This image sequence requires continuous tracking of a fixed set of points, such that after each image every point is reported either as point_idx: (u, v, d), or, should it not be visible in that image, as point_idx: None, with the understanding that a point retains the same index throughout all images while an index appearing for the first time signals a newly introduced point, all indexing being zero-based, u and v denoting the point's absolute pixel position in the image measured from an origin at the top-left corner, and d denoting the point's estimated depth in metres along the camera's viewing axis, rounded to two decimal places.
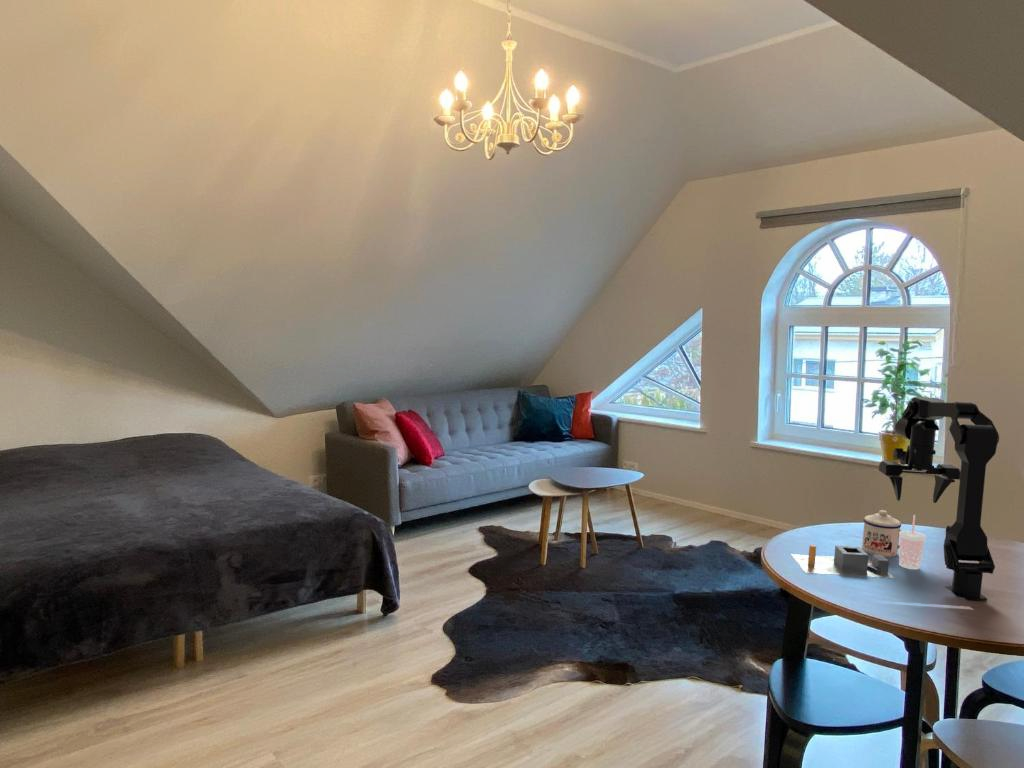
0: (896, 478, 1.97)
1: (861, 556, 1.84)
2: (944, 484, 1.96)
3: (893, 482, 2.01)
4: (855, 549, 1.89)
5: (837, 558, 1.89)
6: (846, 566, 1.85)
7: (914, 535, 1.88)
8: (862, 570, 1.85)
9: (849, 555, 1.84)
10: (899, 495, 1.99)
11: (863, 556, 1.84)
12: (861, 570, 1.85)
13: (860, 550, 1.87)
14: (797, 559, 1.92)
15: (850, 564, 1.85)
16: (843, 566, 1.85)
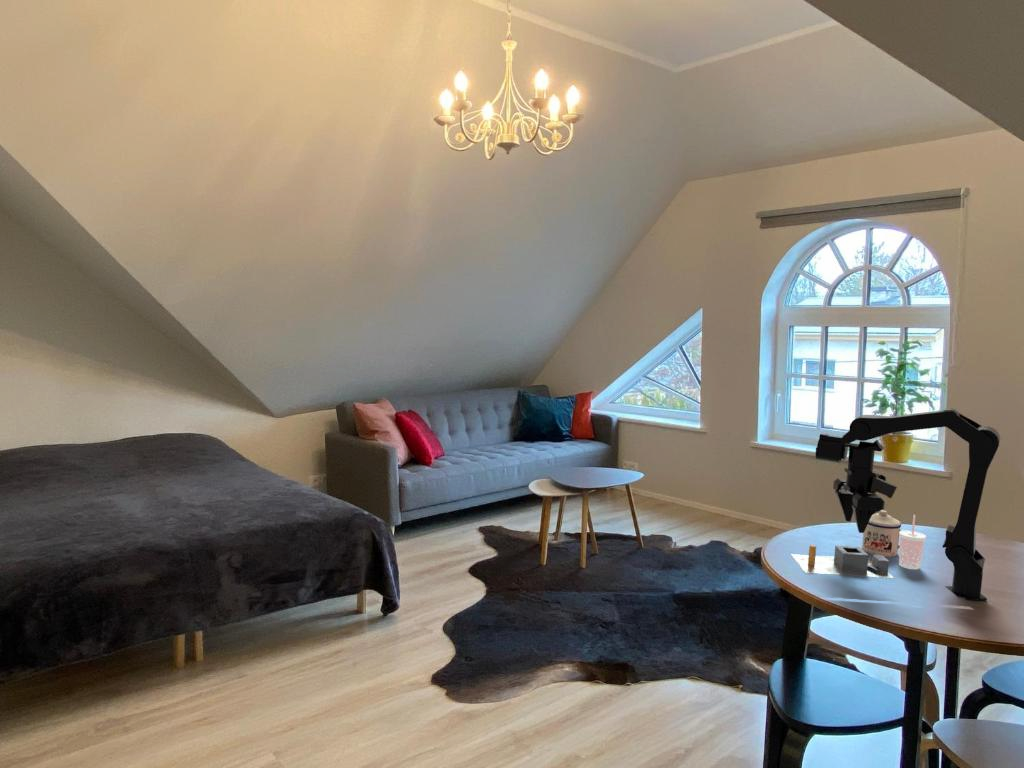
0: (836, 493, 1.93)
1: (861, 556, 1.84)
2: (853, 509, 1.81)
3: None
4: (855, 549, 1.89)
5: (837, 558, 1.89)
6: (846, 566, 1.85)
7: (914, 535, 1.88)
8: (862, 570, 1.85)
9: (849, 555, 1.84)
10: (844, 514, 1.91)
11: (863, 556, 1.84)
12: (861, 570, 1.85)
13: (860, 550, 1.87)
14: (797, 559, 1.92)
15: (850, 564, 1.85)
16: (843, 566, 1.85)
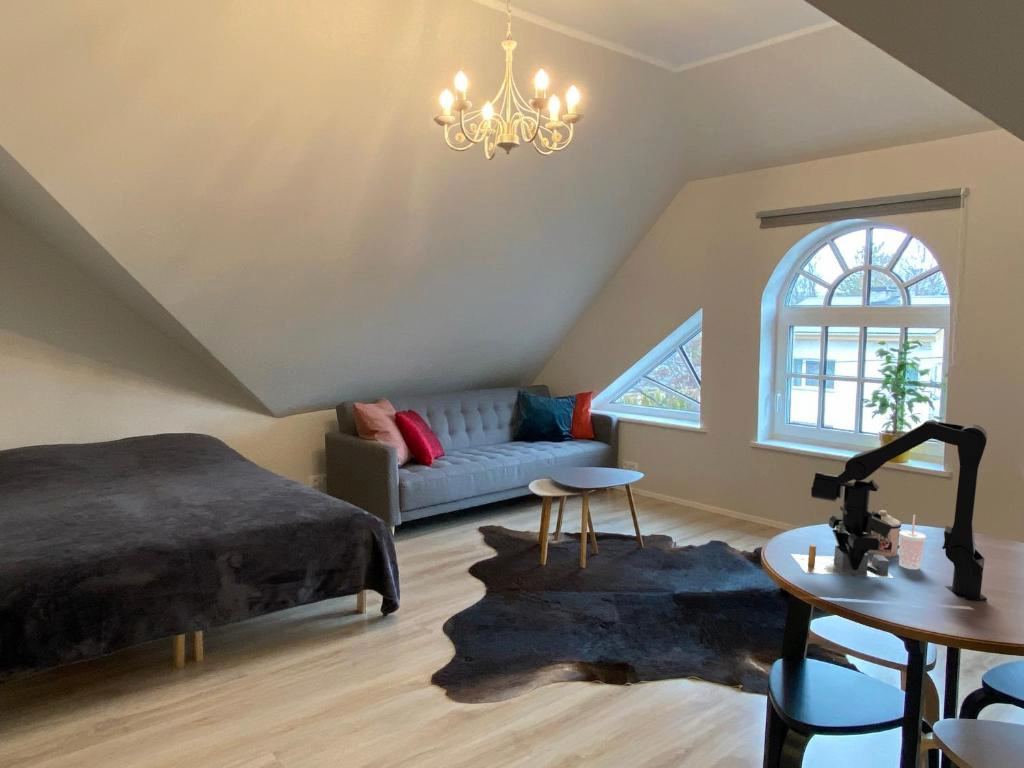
0: (833, 532, 1.92)
1: None
2: (847, 547, 1.83)
3: None
4: None
5: (837, 558, 1.89)
6: (846, 566, 1.85)
7: (914, 535, 1.88)
8: (862, 570, 1.85)
9: None
10: None
11: None
12: (861, 570, 1.85)
13: None
14: (797, 559, 1.92)
15: (850, 564, 1.85)
16: (843, 566, 1.85)
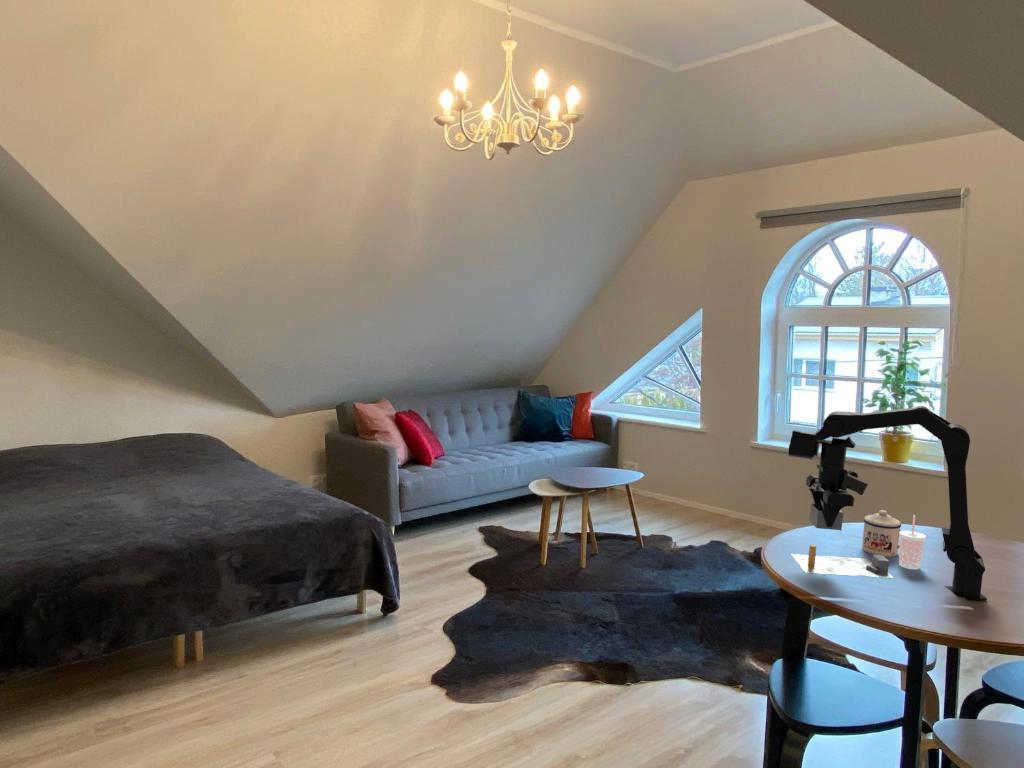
0: (810, 490, 1.92)
1: None
2: None
3: None
4: None
5: (812, 516, 1.88)
6: (821, 523, 1.84)
7: (914, 535, 1.88)
8: (837, 527, 1.84)
9: None
10: None
11: (838, 513, 1.84)
12: (836, 527, 1.84)
13: None
14: (797, 559, 1.92)
15: (825, 521, 1.84)
16: (818, 523, 1.84)
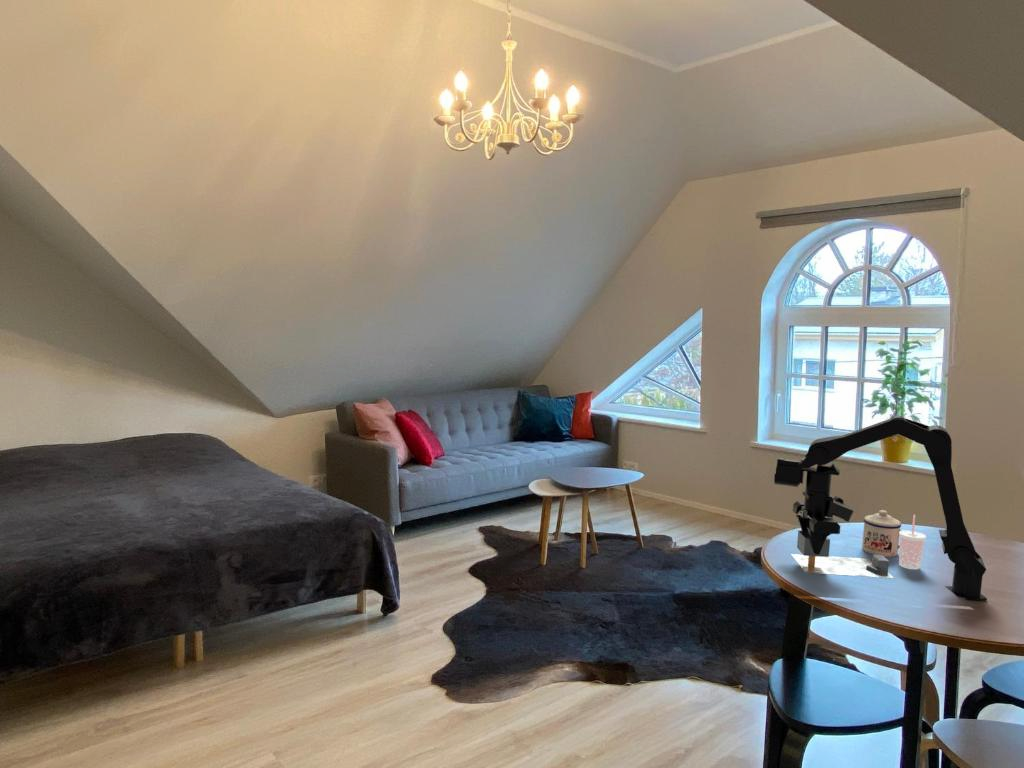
0: (797, 517, 1.93)
1: None
2: (808, 531, 1.84)
3: None
4: None
5: (799, 543, 1.89)
6: (808, 550, 1.85)
7: (914, 535, 1.88)
8: (824, 554, 1.85)
9: None
10: None
11: (825, 540, 1.85)
12: (823, 554, 1.85)
13: None
14: (797, 559, 1.92)
15: (812, 548, 1.85)
16: (805, 550, 1.85)
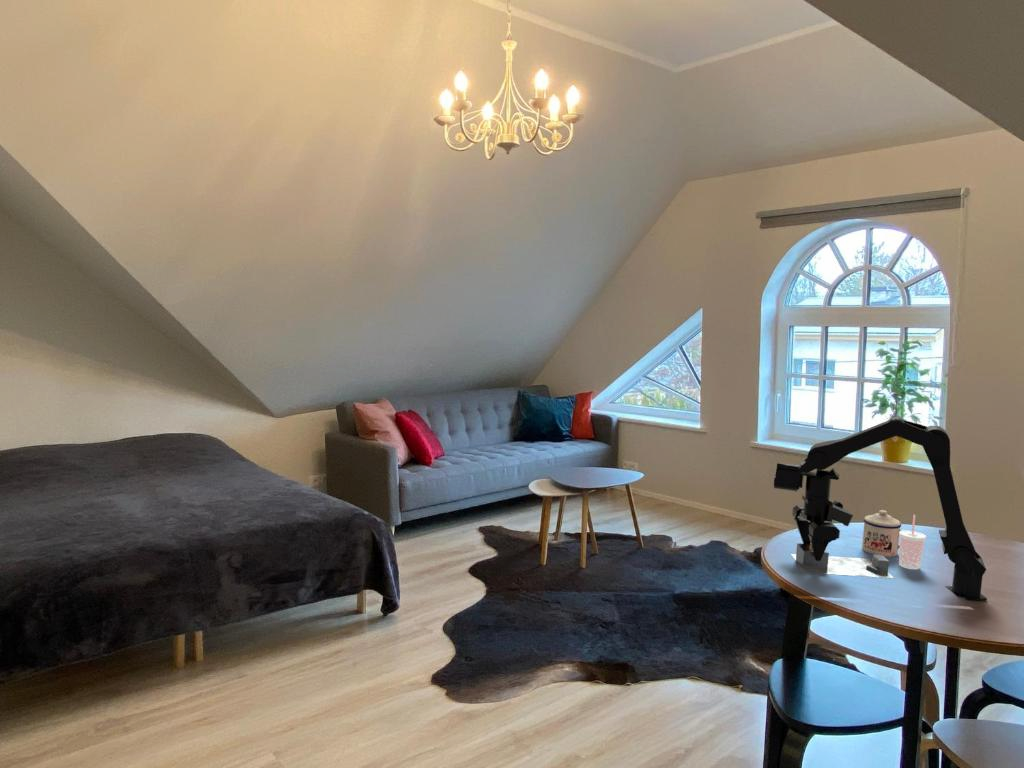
0: (795, 520, 1.94)
1: None
2: (809, 538, 1.82)
3: None
4: None
5: (798, 556, 1.89)
6: (807, 564, 1.86)
7: (914, 535, 1.88)
8: (822, 568, 1.85)
9: (810, 553, 1.85)
10: None
11: (823, 554, 1.85)
12: (821, 568, 1.85)
13: None
14: None
15: (811, 562, 1.85)
16: (804, 564, 1.86)
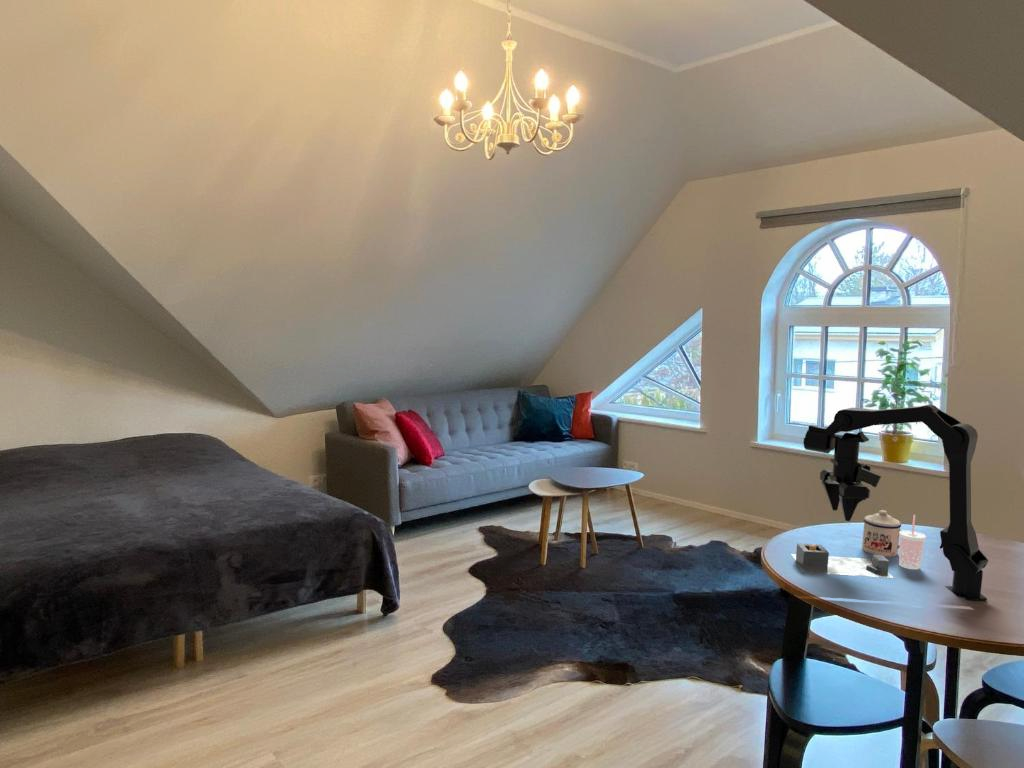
0: (822, 483, 2.00)
1: (821, 554, 1.85)
2: (840, 498, 1.88)
3: None
4: (816, 547, 1.90)
5: (798, 556, 1.89)
6: (807, 564, 1.86)
7: (914, 535, 1.88)
8: (822, 568, 1.85)
9: (810, 553, 1.85)
10: (830, 503, 1.98)
11: (823, 554, 1.85)
12: (821, 568, 1.85)
13: (821, 548, 1.88)
14: None
15: (811, 562, 1.85)
16: (804, 564, 1.86)
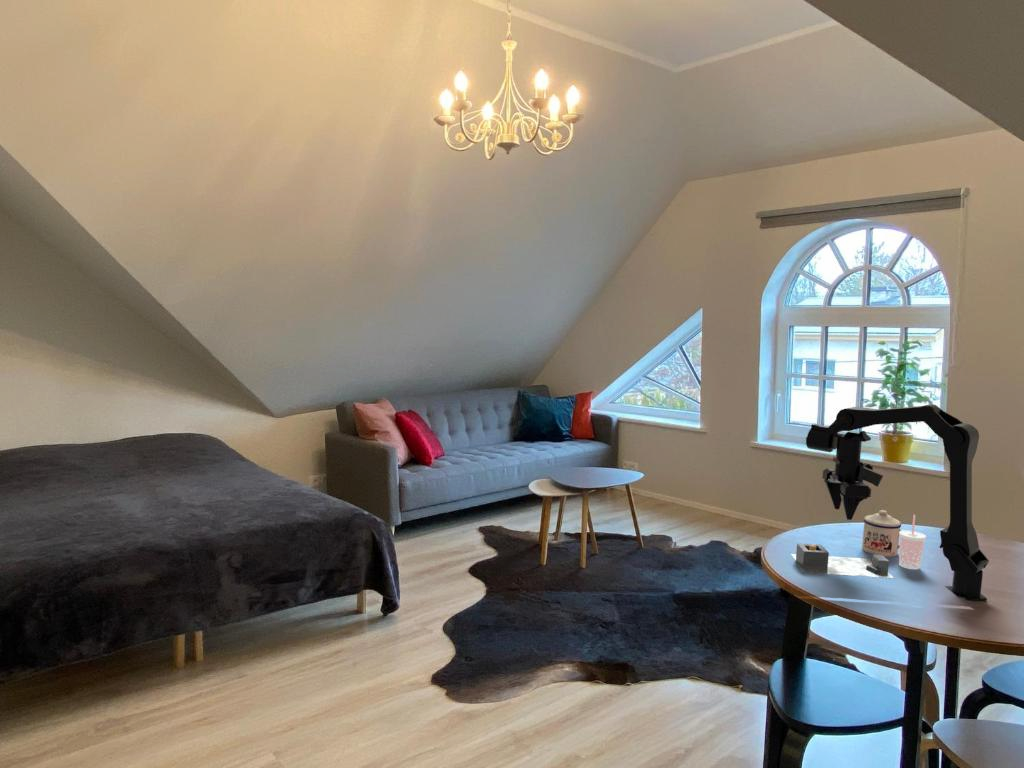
0: (825, 482, 2.00)
1: (821, 554, 1.85)
2: (841, 497, 1.88)
3: None
4: (816, 547, 1.90)
5: (798, 556, 1.89)
6: (807, 564, 1.86)
7: (914, 535, 1.88)
8: (822, 568, 1.85)
9: (810, 553, 1.85)
10: (832, 502, 1.99)
11: (823, 554, 1.85)
12: (821, 568, 1.85)
13: (821, 548, 1.88)
14: None
15: (811, 562, 1.85)
16: (804, 564, 1.86)
